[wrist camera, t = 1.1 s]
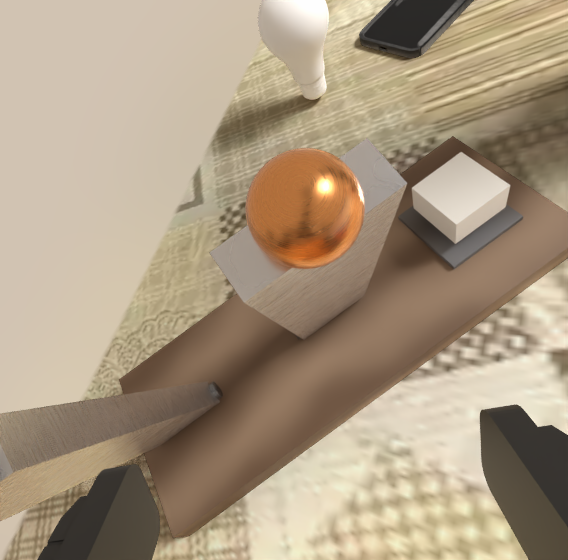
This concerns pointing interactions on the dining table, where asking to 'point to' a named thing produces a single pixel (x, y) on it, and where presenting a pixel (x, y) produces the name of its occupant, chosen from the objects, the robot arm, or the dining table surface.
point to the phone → (411, 25)
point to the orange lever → (312, 234)
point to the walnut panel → (338, 346)
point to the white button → (460, 197)
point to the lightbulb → (297, 39)
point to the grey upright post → (88, 439)
